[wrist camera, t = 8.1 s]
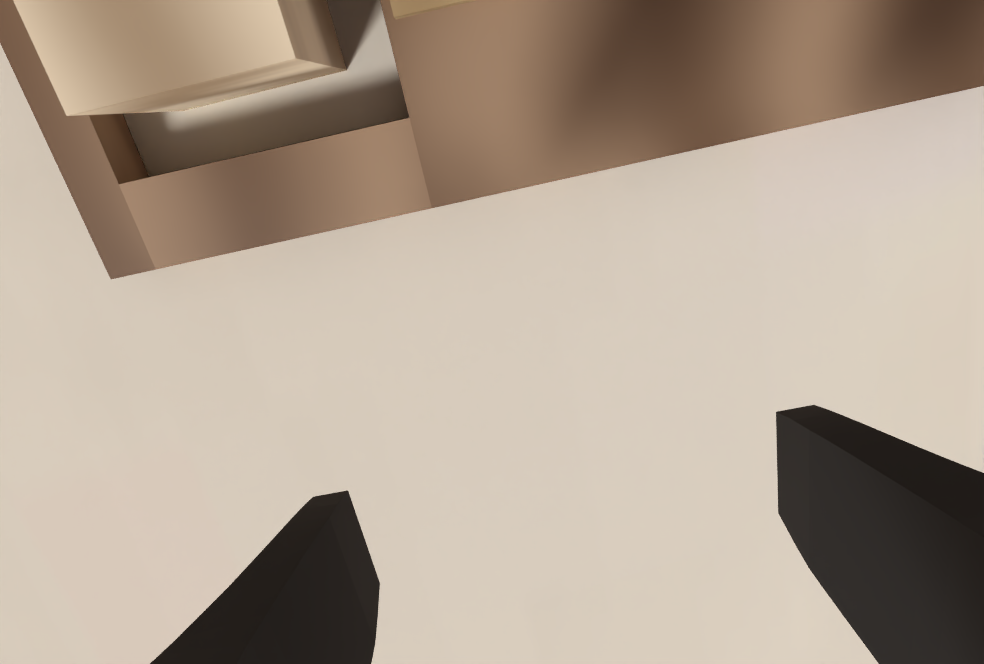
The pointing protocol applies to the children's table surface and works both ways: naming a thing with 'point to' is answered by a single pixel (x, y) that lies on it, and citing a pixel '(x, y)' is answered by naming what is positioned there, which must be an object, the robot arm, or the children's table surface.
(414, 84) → the puzzle board
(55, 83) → the maple block
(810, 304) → the children's table surface
